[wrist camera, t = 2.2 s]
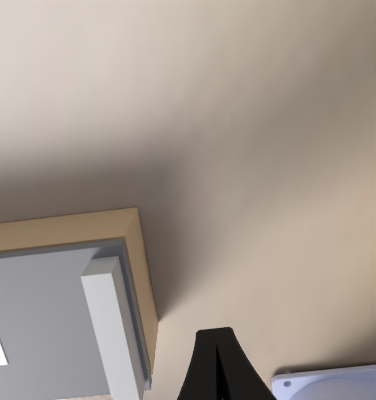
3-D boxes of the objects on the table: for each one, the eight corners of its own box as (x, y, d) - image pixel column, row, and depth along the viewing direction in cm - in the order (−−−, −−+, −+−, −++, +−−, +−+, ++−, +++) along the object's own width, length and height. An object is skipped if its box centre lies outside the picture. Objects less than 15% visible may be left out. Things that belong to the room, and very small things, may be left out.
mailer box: (137, 206, 18) (124, 235, 14) (158, 323, 20) (152, 374, 17) (-101, 235, 18) (-176, 270, 14) (-53, 346, 21) (-106, 401, 17)
